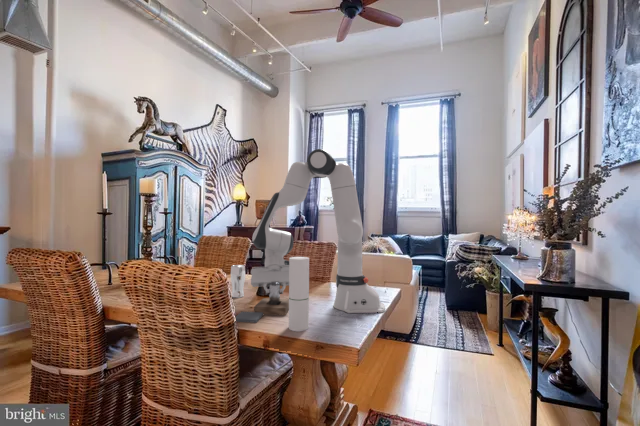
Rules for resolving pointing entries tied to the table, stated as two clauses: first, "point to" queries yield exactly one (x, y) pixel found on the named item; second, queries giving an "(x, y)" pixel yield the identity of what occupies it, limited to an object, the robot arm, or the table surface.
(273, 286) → the metal plug
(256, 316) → the slate mat
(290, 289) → the cylindrical container
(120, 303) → the table surface
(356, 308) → the robot arm
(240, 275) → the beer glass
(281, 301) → the walnut bore block
